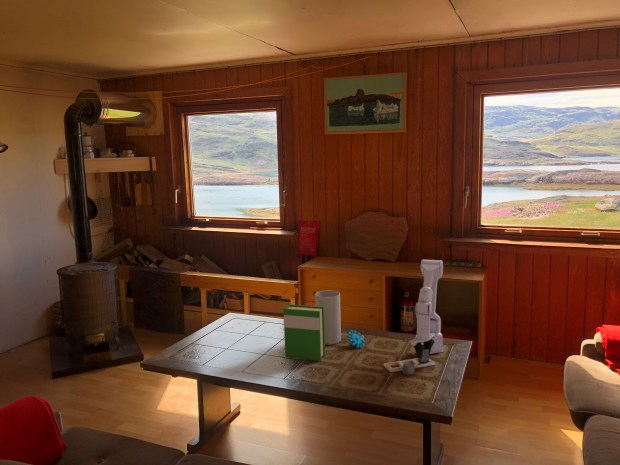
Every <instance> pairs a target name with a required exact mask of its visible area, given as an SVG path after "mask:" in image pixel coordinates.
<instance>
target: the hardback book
mask: <svg viewBox="0 0 620 465" xmlns="http://www.w3.org/2000/svg"><path fill="white" fill-rule="evenodd" d="M283 328H284V330H283V331H284V351H285V352H284V354H285V355H284V356H285V358H288V359H296V360H298V359H299V360H308V361H315V362H321V361H322V357H324V356H326V345H325V326H324V307H320V306H316V305H303V304H287V305H286V306H285V307H284V308H283Z"/></svg>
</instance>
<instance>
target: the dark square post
mask: <svg viewBox="0 0 620 465" xmlns="http://www.w3.org/2000/svg"><path fill="white" fill-rule="evenodd" d="M429 358H430V354H429V349H428V348H427V347H425V346H424V348H423V353H422V359H420V358H418V360H419V361H418V362H420V363H421V364H422V363H428V362H429Z"/></svg>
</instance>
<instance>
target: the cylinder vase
mask: <svg viewBox="0 0 620 465" xmlns="http://www.w3.org/2000/svg"><path fill="white" fill-rule="evenodd" d="M314 296H315V306H320V307H324V326H325V346H326V345H331V346H332V345H336V344H338V343H340V342H341V340H342V328H341V327H342V324H341V323H342V322H341V319H342V317H341V292H339V291H338V290H333V289H332V290H330V289H329V290H328V289H327V290H320V291H317V292H315V294H314Z"/></svg>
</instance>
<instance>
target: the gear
mask: <svg viewBox="0 0 620 465" xmlns="http://www.w3.org/2000/svg"><path fill="white" fill-rule="evenodd" d="M347 334H348V335H347V339H349V345H350V346H354V347H356V348H358V349H361V348H363V347H364V346H365V340H364V337H365V336H364V335H363V334H362V335H361V333H360V332H358V333H357V330H353V329H351V330H350V331H349V332H347ZM360 335H361V336H360Z"/></svg>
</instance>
